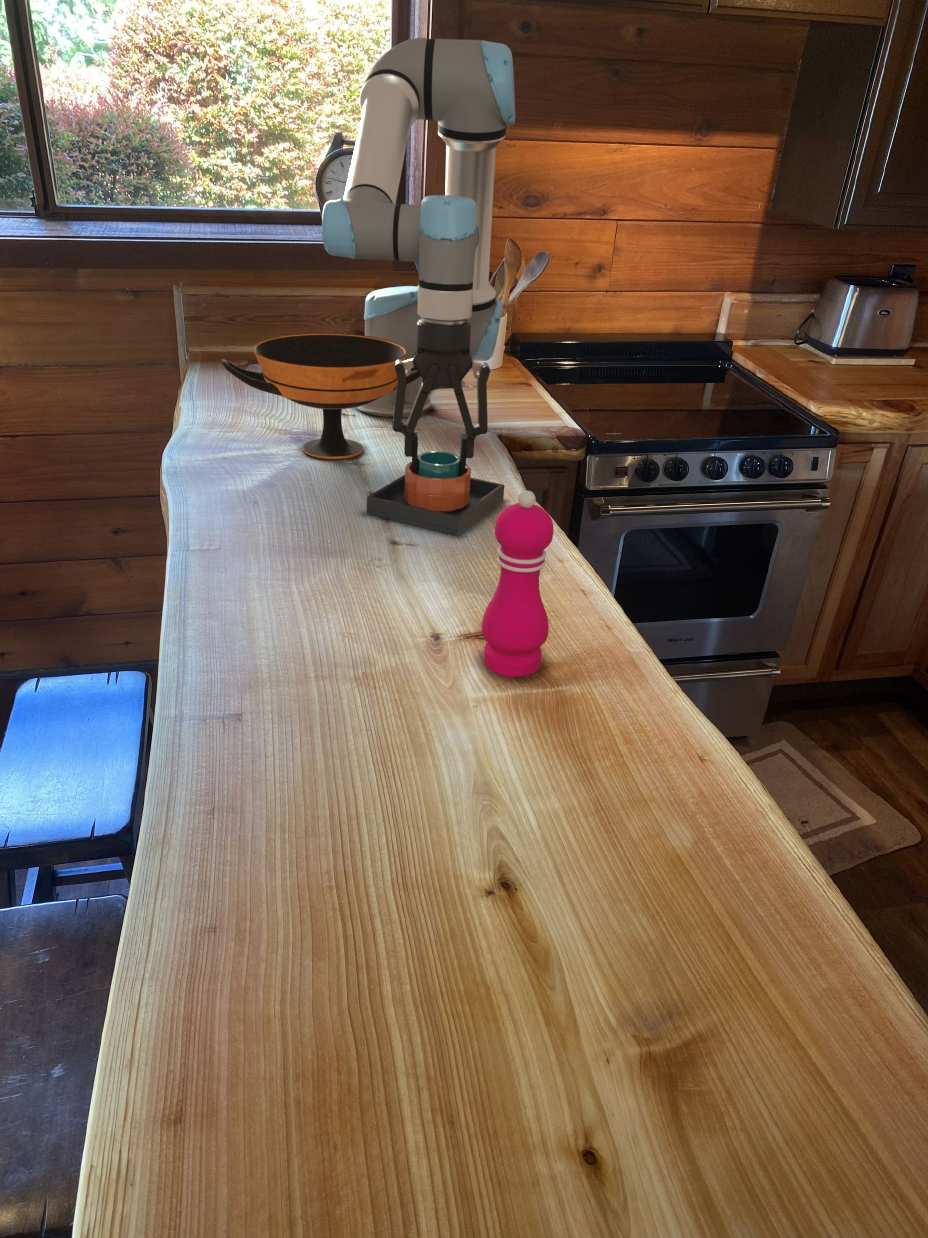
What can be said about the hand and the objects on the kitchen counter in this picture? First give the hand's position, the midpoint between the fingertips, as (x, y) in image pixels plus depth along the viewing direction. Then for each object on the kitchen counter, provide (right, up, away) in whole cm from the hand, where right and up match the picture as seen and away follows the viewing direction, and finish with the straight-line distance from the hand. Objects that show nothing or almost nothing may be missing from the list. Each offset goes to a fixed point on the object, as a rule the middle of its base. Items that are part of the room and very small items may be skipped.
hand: (438, 477), depth 136 cm
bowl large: (0, -4, +2) cm, 4 cm away
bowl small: (0, -1, +1) cm, 1 cm away
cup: (-19, +8, +24) cm, 32 cm away
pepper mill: (+9, -26, -37) cm, 46 cm away
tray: (0, -4, +2) cm, 5 cm away
